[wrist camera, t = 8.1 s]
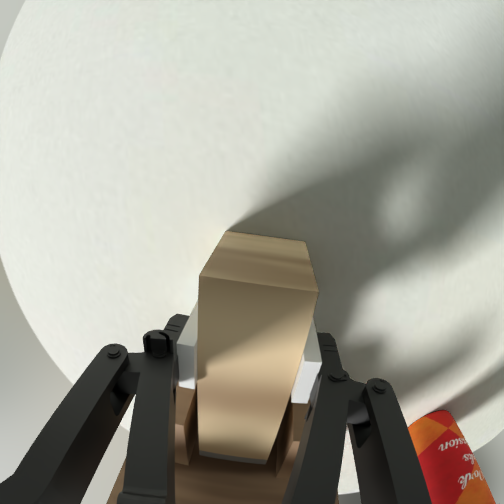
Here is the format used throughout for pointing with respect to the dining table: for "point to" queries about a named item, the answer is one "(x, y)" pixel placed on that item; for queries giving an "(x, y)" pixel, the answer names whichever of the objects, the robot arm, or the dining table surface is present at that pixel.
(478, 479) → the coffee cup
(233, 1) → the dining table surface
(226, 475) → the brown notched piece
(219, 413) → the tan wooden block
